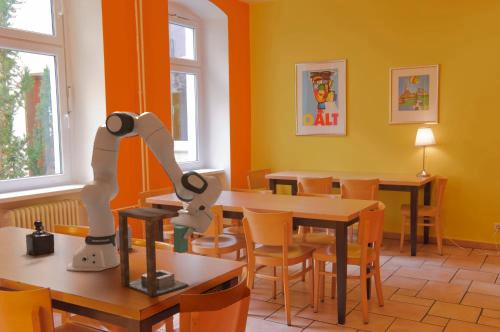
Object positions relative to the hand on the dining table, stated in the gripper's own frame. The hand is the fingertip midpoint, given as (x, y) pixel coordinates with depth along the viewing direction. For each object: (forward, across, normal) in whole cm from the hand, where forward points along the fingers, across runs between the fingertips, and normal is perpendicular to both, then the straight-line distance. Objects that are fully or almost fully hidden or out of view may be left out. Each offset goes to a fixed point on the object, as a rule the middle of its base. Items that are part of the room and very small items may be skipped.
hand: (179, 237), depth 197 cm
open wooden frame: (+22, 0, +1) cm, 22 cm away
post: (+4, 0, +5) cm, 6 cm away
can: (+4, -62, +21) cm, 66 cm away
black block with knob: (+27, -86, -1) cm, 90 cm away
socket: (+20, 0, +4) cm, 20 cm away
